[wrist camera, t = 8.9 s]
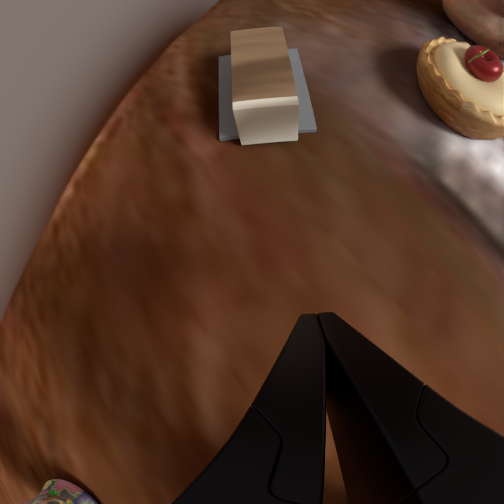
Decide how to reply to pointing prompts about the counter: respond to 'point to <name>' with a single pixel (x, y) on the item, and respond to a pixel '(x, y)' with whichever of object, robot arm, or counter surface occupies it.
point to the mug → (61, 494)
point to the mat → (226, 104)
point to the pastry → (463, 86)
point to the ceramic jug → (479, 21)
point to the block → (263, 87)
